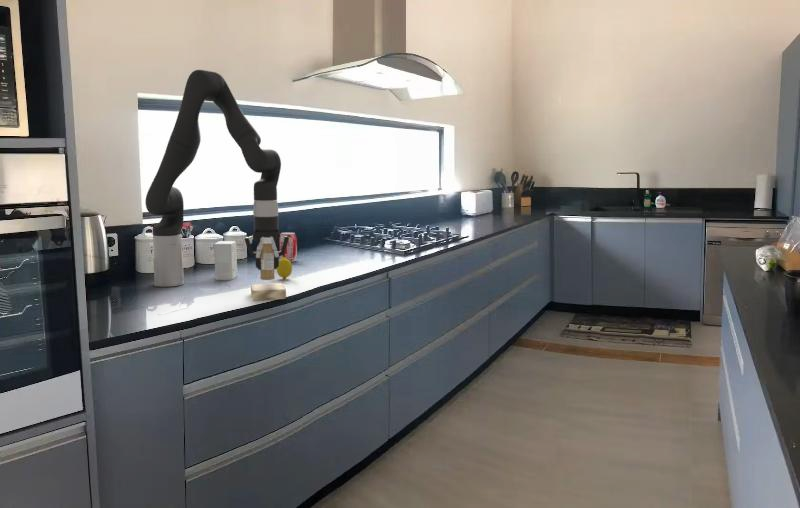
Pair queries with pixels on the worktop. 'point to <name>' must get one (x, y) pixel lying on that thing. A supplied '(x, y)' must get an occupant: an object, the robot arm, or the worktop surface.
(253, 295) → the pedestal
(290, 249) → the soda can
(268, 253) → the sprinkles bottle
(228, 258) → the small box
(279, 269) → the lemon
